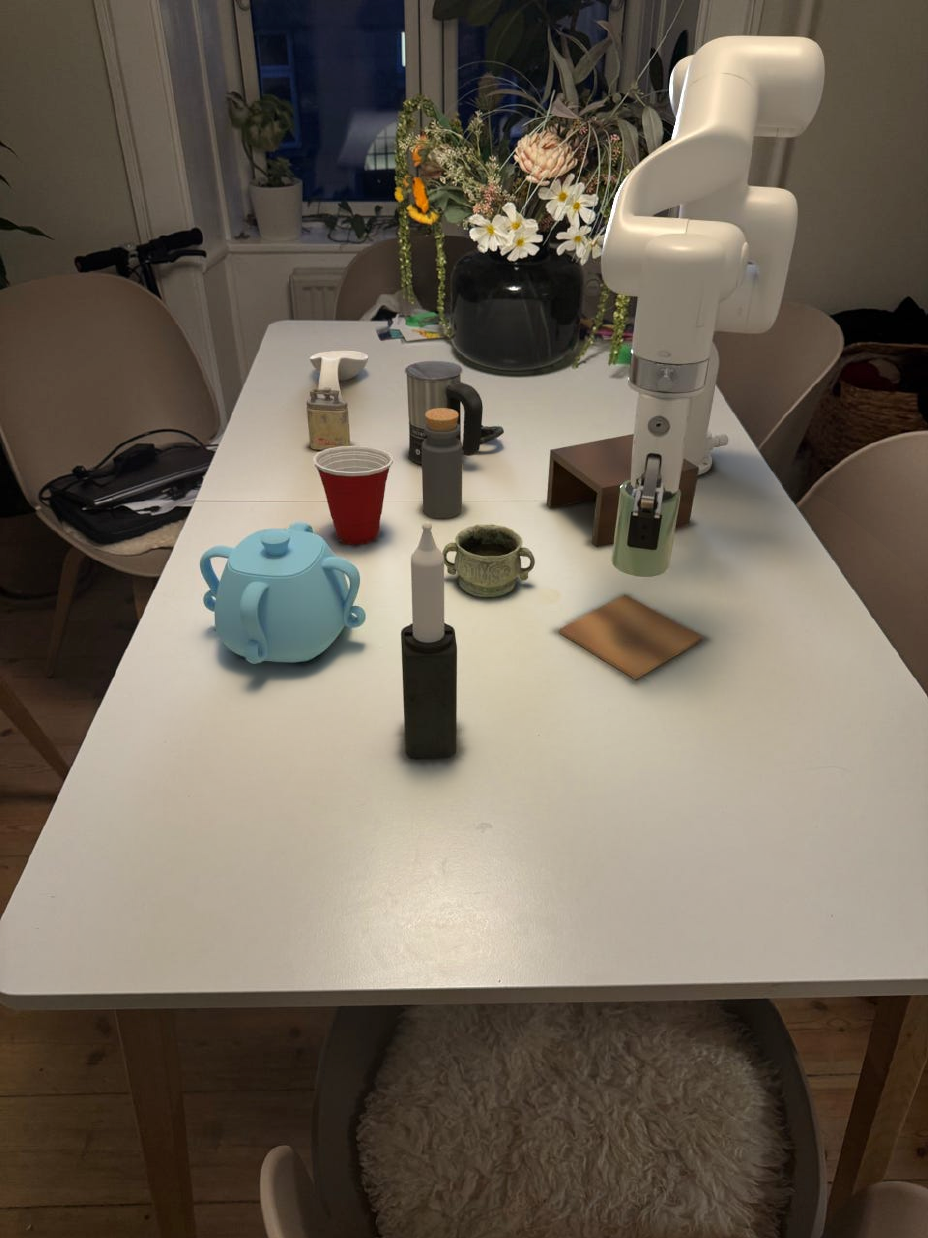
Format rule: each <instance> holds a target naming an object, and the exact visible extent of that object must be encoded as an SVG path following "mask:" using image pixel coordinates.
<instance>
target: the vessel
mask: <svg viewBox="0 0 928 1238" xmlns="http://www.w3.org/2000/svg"><path fill="white" fill-rule="evenodd" d="M441 552H442V554H443V556H444V566H446V569H447V570H446V572H447V574H448V575H452V576H454V575H456V574H458V576H459V577H458V585H459V586H460V588H461V589H462V590H463V591H465V592H466V593H467V594H470V595H472V596H474V597H481V598H496V597H500V596H504V595H506V594H507V593H510V592H511V591H512V590H514V588H515V587H516V579H517V577H519V580H520V581H521V582H523V581H527V580H528V579H529V573H530V572H531V571H532V570H533V569H534V567H535V564H536V560H535V557H534V554H533V552H532V551H531V550H530V549H529V548H527V547H523V538H522V537H521V535H520V534H519V533H518V532H516V531H515V530H513V529H512V528H509V527H506V526H503V525H498V524H493V523H492V524H491V523H490V524H475V525H472V526H468V527H466V528H464V529H462V530H460V531H459V532H458V533H457V534H456V535H455V539H454V542H448V543H447V544H446V545H445V546H444V548H443V549H442V551H441ZM450 552H456V553H455V556H454V561H453V562H452V561H449V560H448V556H447V555H448V553H450ZM521 557H524V558H527V559H529V565H528V566H527V567H522V558H521Z"/></svg>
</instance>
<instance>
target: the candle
mask: <svg viewBox="0 0 928 1238" xmlns="http://www.w3.org/2000/svg"><path fill="white" fill-rule="evenodd" d="M432 527H433V525H432V524H431V522H430V521H429V522H428V521H425V522H424V523H423V524H421V529H422V533H421V536H420V539H419V542H418V546H417V547H416V548H415V549H414V551H413V552H412V553H411V556H410V579H411V580H410V581H411V582H410V583H411V585H410V586H411V617H412V618H411V619H412V621H411V622H412V623H410V624H409V625H406V626H404V627H403V628H402V629H401V632H400V645H401V646H400V647H401V665H402V666H401V667H402V668H401V670H402V698H403V722H404V726H403V727H404V745H405V746H404V747H405V749H404V750H405V754H406V756H407V757H409V758H410V759H413V760H429V759H430V760H431V759H445V758H451V757H452V756H454V755H455V754H456V752H457V733H458V731H457V725H458V724H457V721H458V720H457V719H458V717H457V715H458V714H457V711H458V701H457V700H458V695H457V694H458V644H457V637H456V630H455V628H454V626H452V625H450V624H448V623H446V622H445V564H444V556H443V554H442V552H443V551H442V550H440V549H439V547H438V546H437V544H436V541H435V539H434V536H433V533H432Z"/></svg>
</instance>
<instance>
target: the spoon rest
mask: <svg viewBox="0 0 928 1238" xmlns="http://www.w3.org/2000/svg"><path fill="white" fill-rule="evenodd" d="M309 361H310V364H311V365H312V367H313V368H314V369H315V370H316V371H317V372H318V373H319V378H318V385H317V389H319V390H320V389H324V388H331V390H337V391H339V395H338V399H343V397H342V391H341V386H340V382H339V381H349V380H351V379H353V378H355V377H356V375H358V374H359V373H361V372H362V371H363V370H364V368H365V367H366V366H367V364H368V361H369V355H368V354H366V353H364V352H361V351H355V350H333V351H322V352H319V353H315V354H312V355H311V356H310V357H309ZM317 397H318V398H326V397H325V396H324V394H317ZM330 398H332V399H334V397H333V396H330Z"/></svg>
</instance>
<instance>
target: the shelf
mask: <svg viewBox="0 0 928 1238" xmlns="http://www.w3.org/2000/svg"><path fill="white" fill-rule="evenodd" d="M633 438H634V433H631V434H625V435H621V436H615V437H609V438H605V439H600V440H599V439H598V440H594V441H589V442H584V443H583V442H582V443H578V444H573V445H568V446H563V447H558V448H557V447H556V448H552V449H550V452H549V462H548V463H549V465H548V478H547V479H548V480H547V491H546V492H547V493H546V494H547V495H546V507H548V508H549V509H554V508H559V507H562V506H567V505H572V504H577V503H582V502H586V501H590V500H591V501H592V500H595V499H596V501H595V510H594V519H593V528H592V529H593V530H592V538H591V544H593V546H594V547H601V546H605V545H609V544H613V543H614V535H615V527H616V519H617V510H618V502H619V494H620V487H621V485H622V484H623V483H624V482H625V481H627V480H630V479H631V466H632V450H633ZM698 471H699V467H697V466H696V465H694V464H692V463H691V462H689V461H687V460H686V459H684V458H683V464H682V470H681V476H680V482H679V490H680V492H681V496H680V502H679V508H678V514H677V521H676V527H675V529H677V528H680V527H685V526H688V525H690V523H691V518H692V516H691V515H692V511H693V505H694V499H695V494H696V489H697V484H698V477H699V475H698Z"/></svg>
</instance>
